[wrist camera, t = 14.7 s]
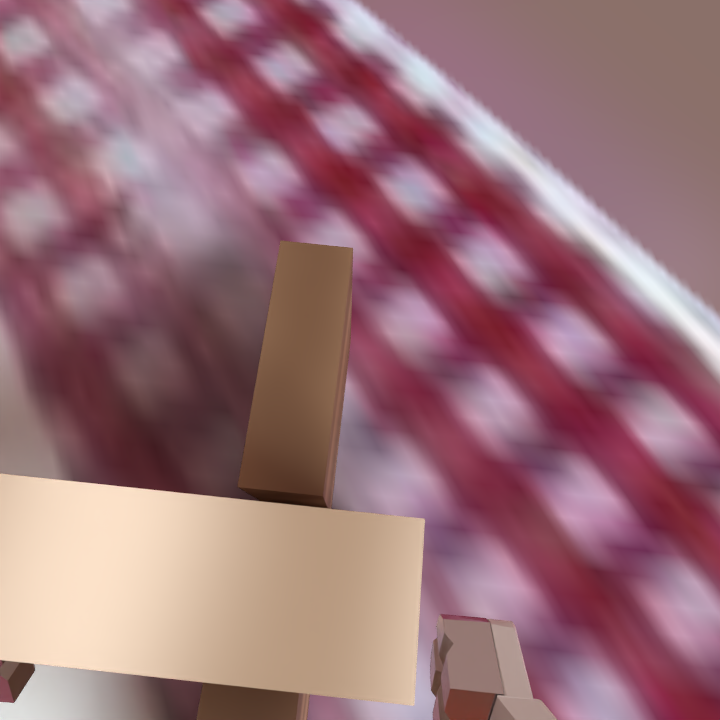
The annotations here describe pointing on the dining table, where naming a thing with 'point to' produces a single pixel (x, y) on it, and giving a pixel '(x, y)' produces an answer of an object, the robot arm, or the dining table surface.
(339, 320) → the walnut slotted plate
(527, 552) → the dining table surface
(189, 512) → the ash slotted plate
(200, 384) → the dining table surface
